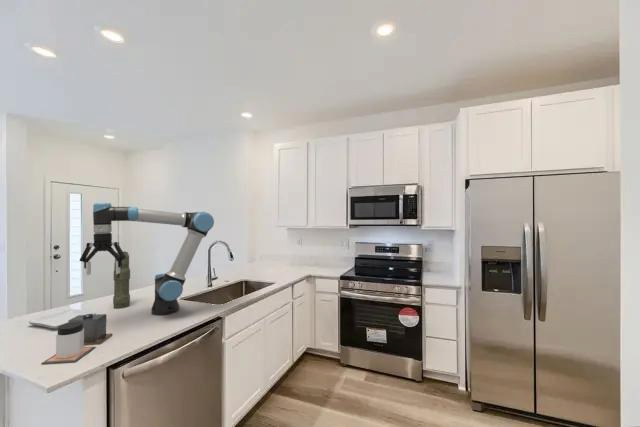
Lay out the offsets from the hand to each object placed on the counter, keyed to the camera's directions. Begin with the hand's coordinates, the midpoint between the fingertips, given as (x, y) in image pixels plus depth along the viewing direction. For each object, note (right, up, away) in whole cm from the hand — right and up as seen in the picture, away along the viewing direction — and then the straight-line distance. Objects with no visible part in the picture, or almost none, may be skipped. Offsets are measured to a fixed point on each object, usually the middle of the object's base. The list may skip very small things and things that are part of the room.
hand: (103, 274), depth 150 cm
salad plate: (-29, -29, +10) cm, 42 cm away
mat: (+7, -28, -28) cm, 40 cm away
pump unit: (+3, -28, -14) cm, 32 cm away
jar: (+7, -28, -28) cm, 40 cm away
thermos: (-16, -29, +37) cm, 50 cm away
